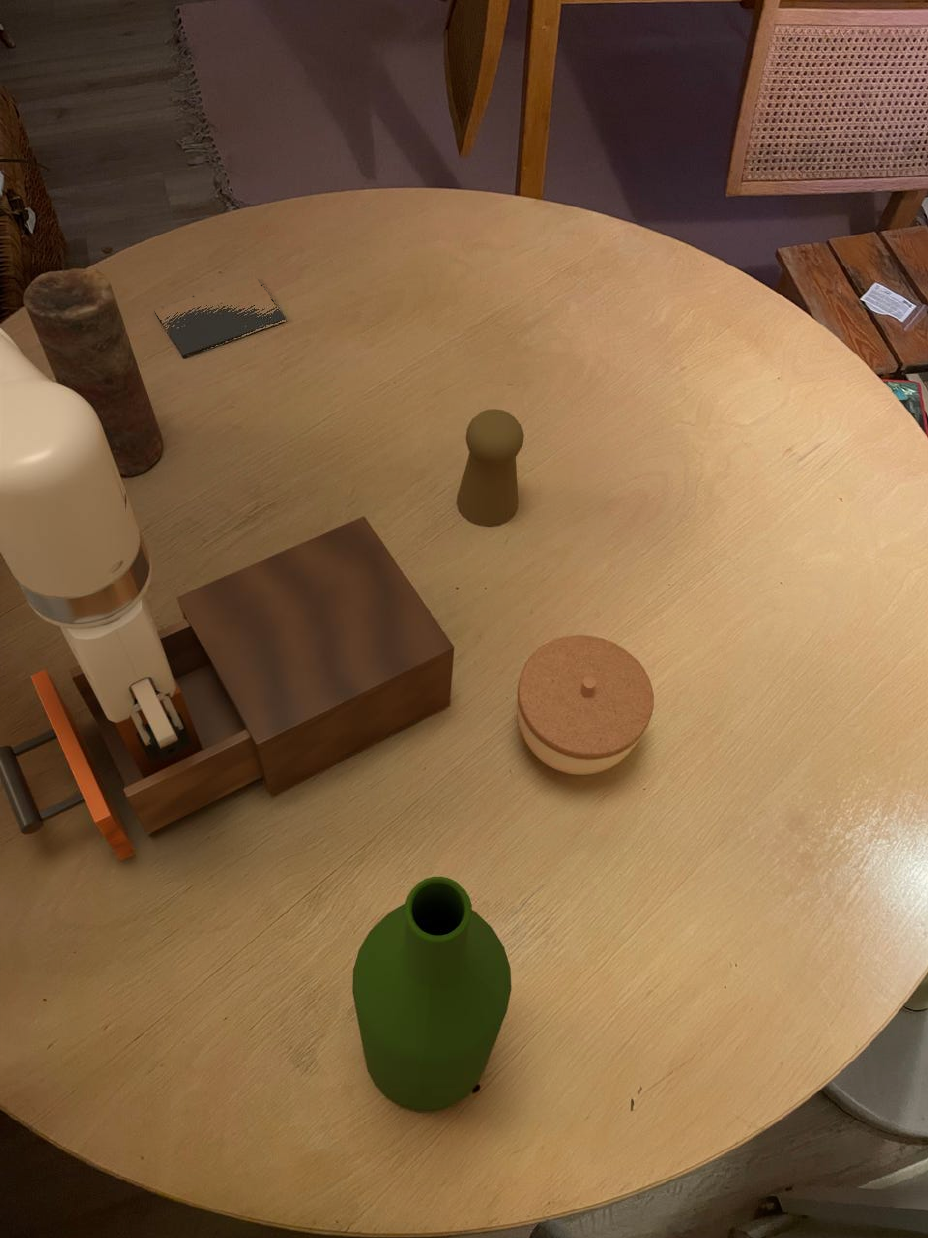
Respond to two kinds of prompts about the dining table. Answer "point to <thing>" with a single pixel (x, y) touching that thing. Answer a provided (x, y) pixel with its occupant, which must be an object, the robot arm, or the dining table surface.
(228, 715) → the drawer
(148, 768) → the tall orange block
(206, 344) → the mat
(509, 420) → the chess pawn piece
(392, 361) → the dining table surface
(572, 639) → the trinket box
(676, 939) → the dining table surface
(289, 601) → the cabinet
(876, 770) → the dining table surface
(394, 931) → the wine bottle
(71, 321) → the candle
